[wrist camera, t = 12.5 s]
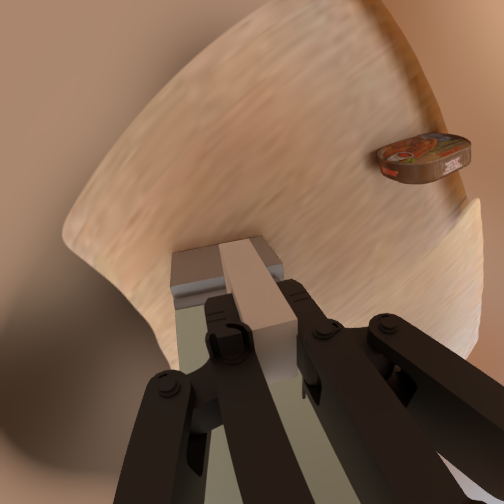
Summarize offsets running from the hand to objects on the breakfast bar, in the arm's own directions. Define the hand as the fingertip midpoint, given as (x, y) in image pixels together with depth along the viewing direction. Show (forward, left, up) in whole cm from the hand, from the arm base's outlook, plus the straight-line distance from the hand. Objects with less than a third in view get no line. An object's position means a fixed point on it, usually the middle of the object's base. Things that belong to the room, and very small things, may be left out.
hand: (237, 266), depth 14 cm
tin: (+3, -26, -16) cm, 30 cm away
